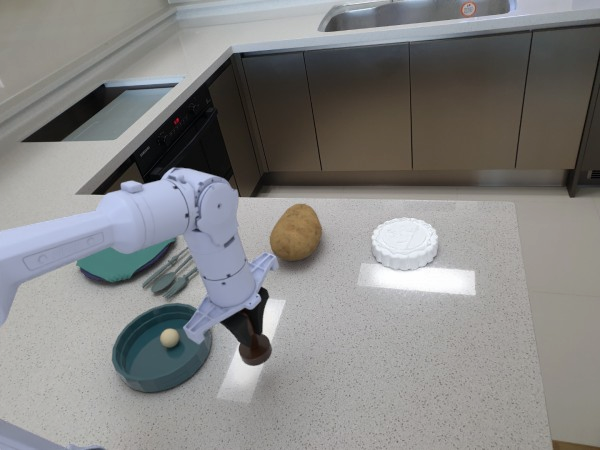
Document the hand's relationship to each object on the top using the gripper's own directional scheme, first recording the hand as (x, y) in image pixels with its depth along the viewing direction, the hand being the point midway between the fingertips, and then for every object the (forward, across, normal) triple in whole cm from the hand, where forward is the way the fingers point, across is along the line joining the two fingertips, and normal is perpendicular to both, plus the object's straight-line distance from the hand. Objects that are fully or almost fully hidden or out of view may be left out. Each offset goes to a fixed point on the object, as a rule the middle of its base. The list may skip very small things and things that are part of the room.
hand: (250, 337), depth 62 cm
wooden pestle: (+3, 0, 0) cm, 3 cm away
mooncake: (+11, +35, -4) cm, 37 cm away
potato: (+11, +26, +14) cm, 32 cm away
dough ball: (+8, -3, +18) cm, 20 cm away
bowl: (+10, -5, +18) cm, 21 cm away
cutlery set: (+11, +8, +42) cm, 44 cm away
